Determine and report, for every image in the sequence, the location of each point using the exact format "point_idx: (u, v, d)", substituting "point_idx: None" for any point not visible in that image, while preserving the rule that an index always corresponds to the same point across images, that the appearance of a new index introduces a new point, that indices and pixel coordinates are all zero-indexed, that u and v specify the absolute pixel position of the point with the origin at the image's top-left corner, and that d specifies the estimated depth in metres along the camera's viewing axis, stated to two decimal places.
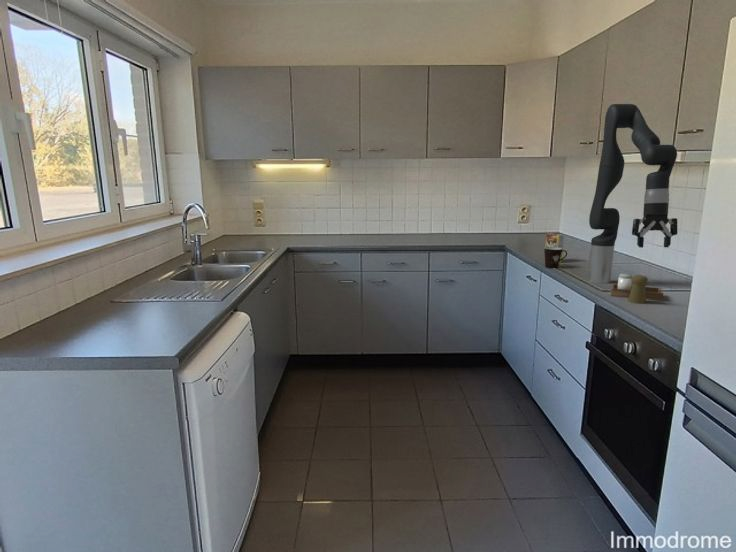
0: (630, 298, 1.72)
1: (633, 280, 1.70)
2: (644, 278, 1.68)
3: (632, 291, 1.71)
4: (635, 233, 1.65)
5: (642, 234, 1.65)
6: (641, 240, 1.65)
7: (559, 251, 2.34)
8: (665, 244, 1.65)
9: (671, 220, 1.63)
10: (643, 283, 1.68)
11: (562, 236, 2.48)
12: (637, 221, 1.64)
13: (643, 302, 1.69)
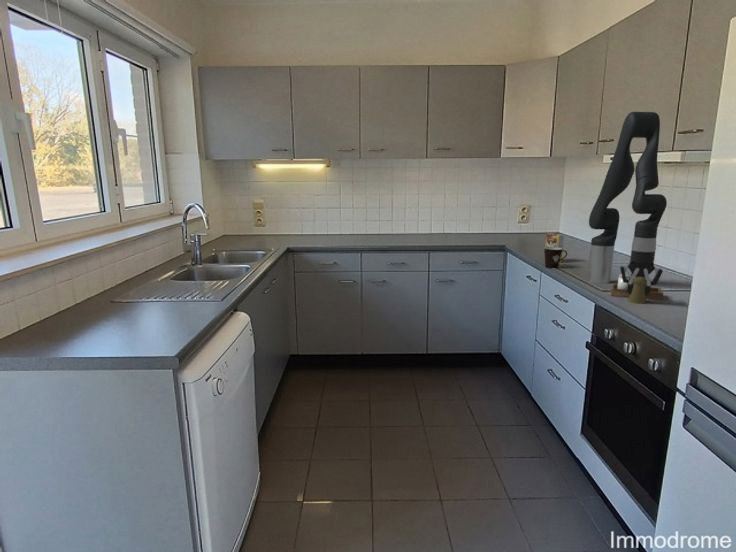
0: (630, 298, 1.72)
1: (633, 280, 1.70)
2: (644, 278, 1.68)
3: (632, 291, 1.71)
4: (623, 280, 1.72)
5: (630, 282, 1.71)
6: (629, 287, 1.71)
7: (559, 251, 2.34)
8: (645, 292, 1.70)
9: (657, 270, 1.67)
10: (643, 283, 1.68)
11: (562, 236, 2.48)
12: (621, 269, 1.71)
13: (643, 302, 1.69)
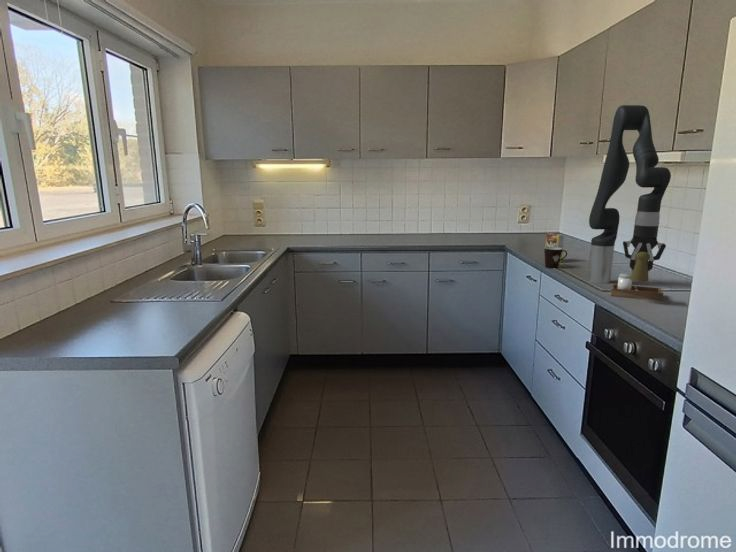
0: (632, 274, 1.70)
1: (636, 255, 1.68)
2: (647, 253, 1.66)
3: (635, 266, 1.69)
4: (626, 255, 1.70)
5: (633, 257, 1.69)
6: (632, 262, 1.69)
7: (559, 251, 2.34)
8: None
9: (660, 245, 1.65)
10: (646, 258, 1.66)
11: (562, 236, 2.48)
12: (624, 244, 1.69)
13: (646, 277, 1.68)
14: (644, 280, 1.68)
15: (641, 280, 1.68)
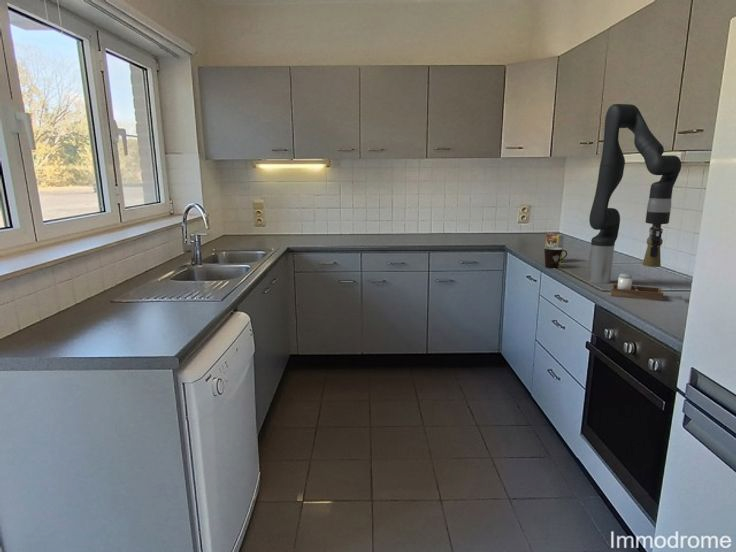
0: None
1: None
2: None
3: None
4: None
5: None
6: None
7: (559, 251, 2.34)
8: None
9: None
10: (647, 243, 1.73)
11: (562, 236, 2.48)
12: None
13: (646, 262, 1.74)
14: (644, 264, 1.75)
15: (643, 263, 1.76)
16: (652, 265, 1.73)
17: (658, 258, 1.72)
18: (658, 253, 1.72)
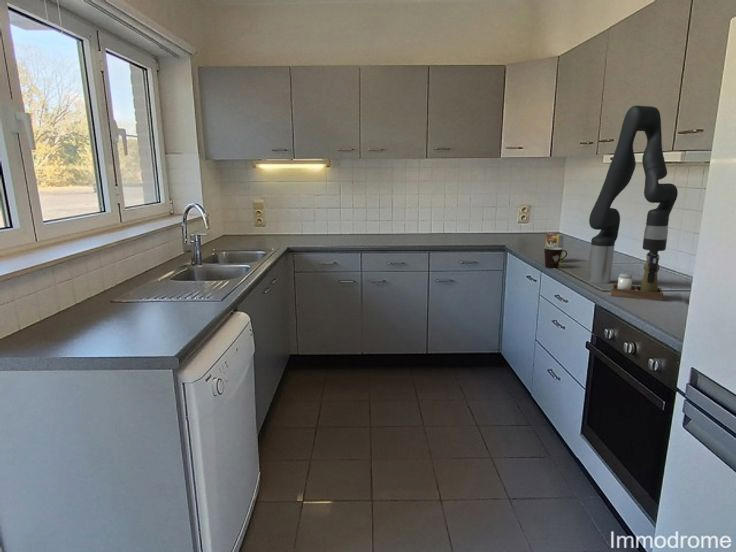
0: None
1: None
2: None
3: None
4: None
5: None
6: None
7: (559, 251, 2.34)
8: None
9: None
10: (645, 269, 1.76)
11: (562, 236, 2.48)
12: None
13: (643, 287, 1.76)
14: (641, 289, 1.77)
15: (640, 289, 1.78)
16: (649, 291, 1.75)
17: (655, 284, 1.74)
18: (655, 279, 1.74)
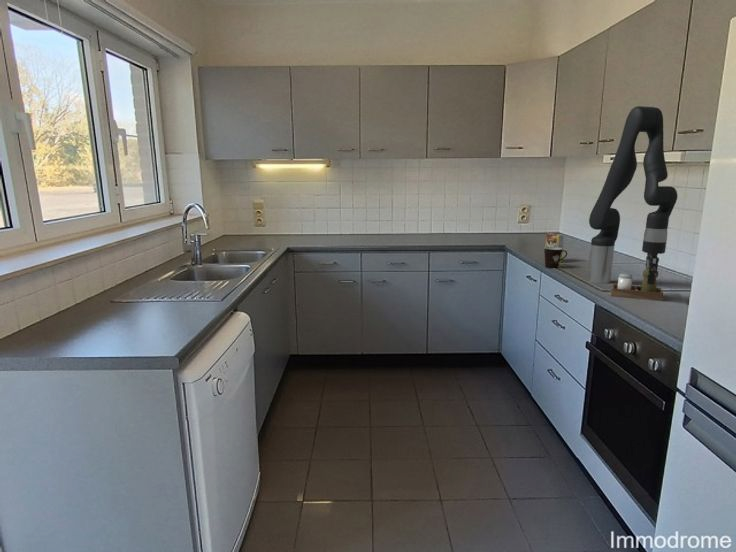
0: None
1: None
2: (646, 271, 1.75)
3: None
4: None
5: (646, 267, 1.80)
6: None
7: (559, 251, 2.34)
8: None
9: None
10: (644, 275, 1.76)
11: (562, 236, 2.48)
12: (647, 254, 1.81)
13: None
14: None
15: None
16: None
17: (654, 290, 1.75)
18: (654, 285, 1.75)
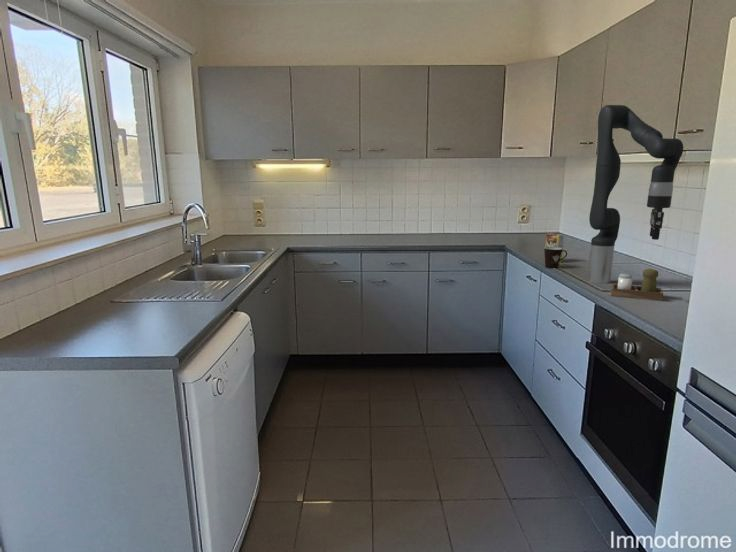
0: None
1: None
2: (646, 271, 1.75)
3: None
4: None
5: (650, 223, 1.77)
6: None
7: (559, 251, 2.34)
8: None
9: None
10: (644, 275, 1.76)
11: (562, 236, 2.48)
12: (652, 211, 1.77)
13: None
14: None
15: None
16: None
17: (654, 290, 1.75)
18: (654, 285, 1.75)
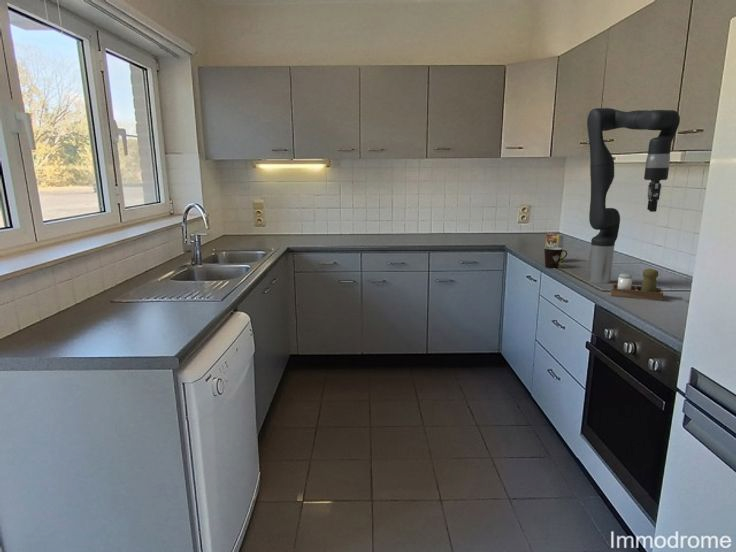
0: None
1: None
2: (646, 271, 1.75)
3: None
4: None
5: (648, 197, 1.77)
6: None
7: (559, 251, 2.34)
8: None
9: None
10: (644, 275, 1.76)
11: (562, 236, 2.48)
12: (649, 185, 1.78)
13: None
14: None
15: None
16: None
17: (654, 290, 1.75)
18: (654, 285, 1.75)
